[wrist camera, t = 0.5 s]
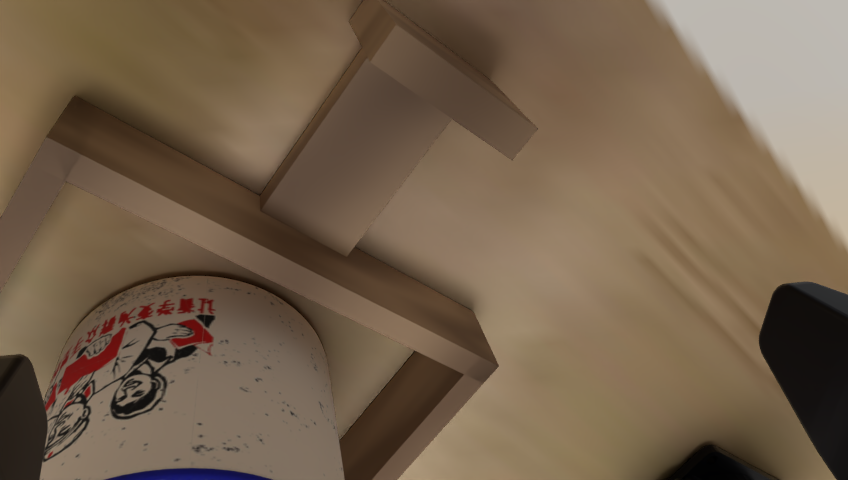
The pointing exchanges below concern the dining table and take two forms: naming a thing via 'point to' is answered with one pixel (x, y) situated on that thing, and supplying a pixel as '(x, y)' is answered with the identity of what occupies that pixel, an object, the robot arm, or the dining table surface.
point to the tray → (315, 215)
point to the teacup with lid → (192, 389)
